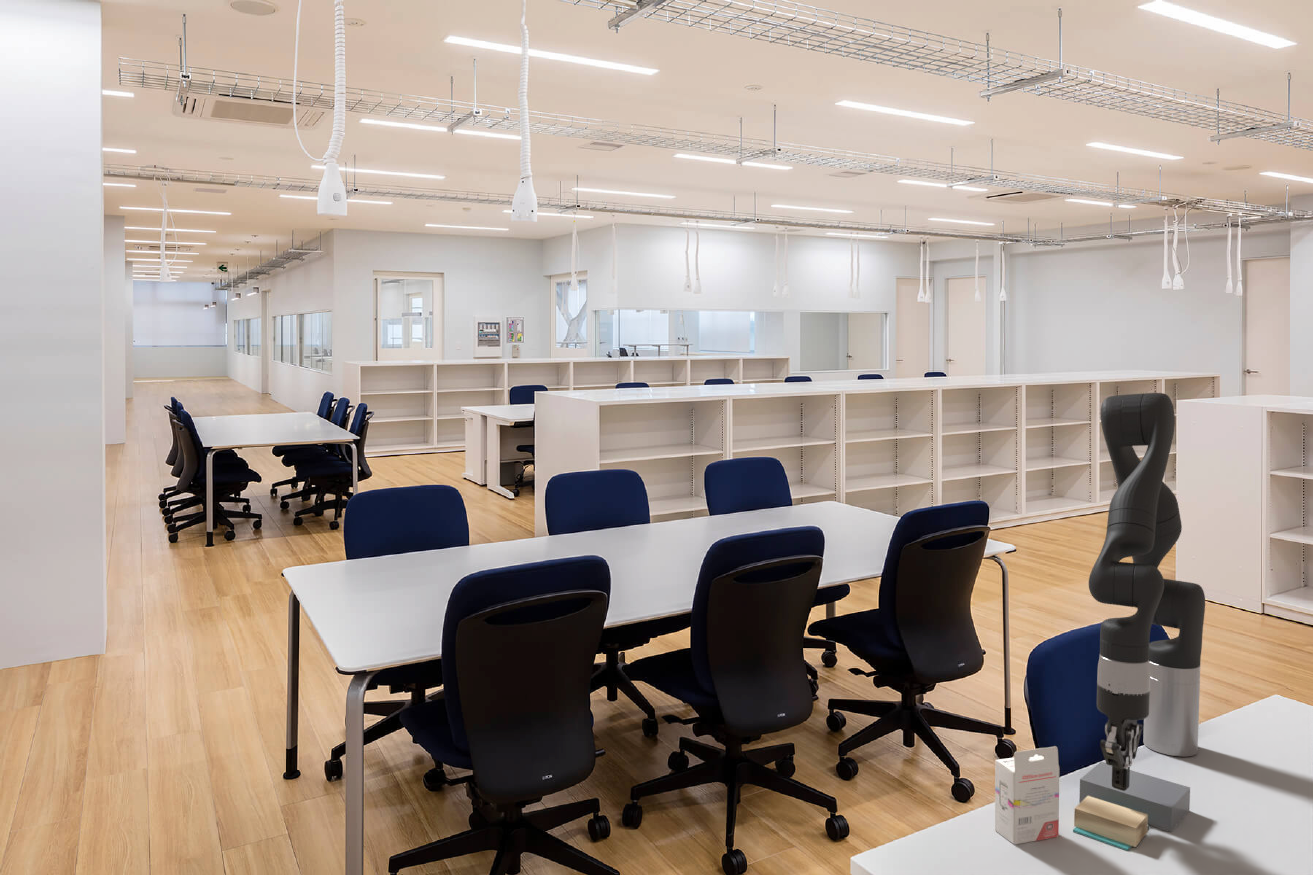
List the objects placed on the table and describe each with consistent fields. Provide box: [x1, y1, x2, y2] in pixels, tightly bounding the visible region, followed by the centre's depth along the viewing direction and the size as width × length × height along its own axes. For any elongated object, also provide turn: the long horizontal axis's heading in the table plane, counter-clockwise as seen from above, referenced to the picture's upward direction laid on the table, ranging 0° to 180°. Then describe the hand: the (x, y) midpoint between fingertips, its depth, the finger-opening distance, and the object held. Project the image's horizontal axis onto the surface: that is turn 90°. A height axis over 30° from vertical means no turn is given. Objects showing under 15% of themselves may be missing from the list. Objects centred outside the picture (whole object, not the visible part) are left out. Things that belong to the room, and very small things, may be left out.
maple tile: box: [1073, 796, 1149, 848], centre depth 137 cm, size 6×9×3 cm, turn 45°
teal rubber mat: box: [1072, 826, 1132, 852], centre depth 138 cm, size 10×8×1 cm
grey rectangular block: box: [1079, 761, 1191, 833], centre depth 145 cm, size 10×14×4 cm
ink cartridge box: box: [994, 745, 1060, 845], centre depth 136 cm, size 9×5×15 cm, turn 105°
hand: (1120, 787), depth 140 cm, fingers closed
